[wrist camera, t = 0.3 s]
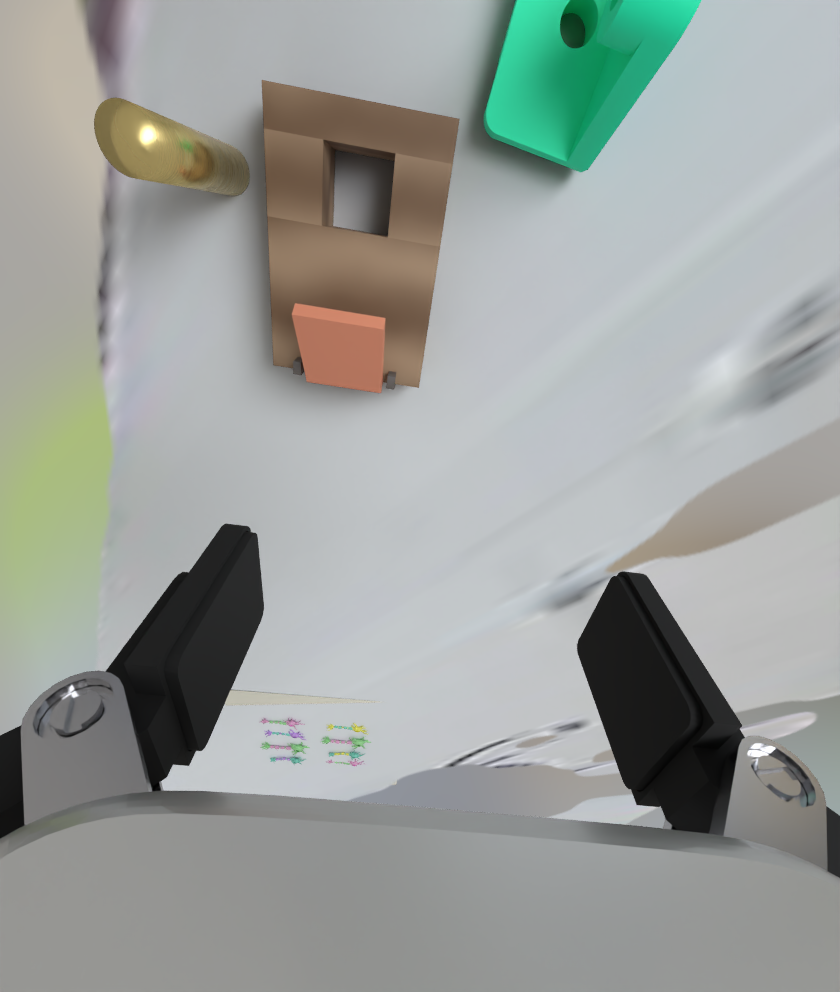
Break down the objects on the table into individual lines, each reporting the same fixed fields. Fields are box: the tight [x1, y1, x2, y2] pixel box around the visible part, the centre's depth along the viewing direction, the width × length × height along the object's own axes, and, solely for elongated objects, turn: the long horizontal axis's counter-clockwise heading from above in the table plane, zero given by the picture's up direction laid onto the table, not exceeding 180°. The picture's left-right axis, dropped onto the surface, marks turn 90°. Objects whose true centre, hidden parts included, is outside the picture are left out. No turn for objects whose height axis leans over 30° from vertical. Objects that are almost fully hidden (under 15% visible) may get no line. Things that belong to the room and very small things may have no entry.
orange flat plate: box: [292, 303, 385, 393], centre depth 30 cm, size 7×6×1 cm
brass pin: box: [94, 98, 250, 196], centre depth 25 cm, size 3×3×12 cm
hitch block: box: [262, 80, 459, 389], centre depth 31 cm, size 17×12×5 cm
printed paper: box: [225, 690, 397, 785], centre depth 74 cm, size 30×30×2 cm
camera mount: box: [484, 0, 701, 172], centre depth 22 cm, size 12×8×10 cm, turn 164°
